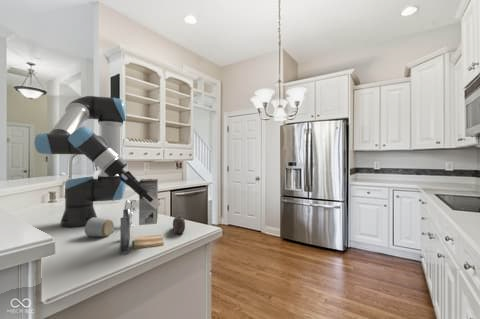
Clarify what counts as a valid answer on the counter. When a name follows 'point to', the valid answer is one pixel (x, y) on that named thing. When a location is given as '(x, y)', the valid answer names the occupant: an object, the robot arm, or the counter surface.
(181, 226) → the perforated stone tool
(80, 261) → the counter surface
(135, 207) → the wineglass
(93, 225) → the ceramic mug
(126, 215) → the metal drawer handle
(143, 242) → the oak trivet
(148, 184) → the coffee box
